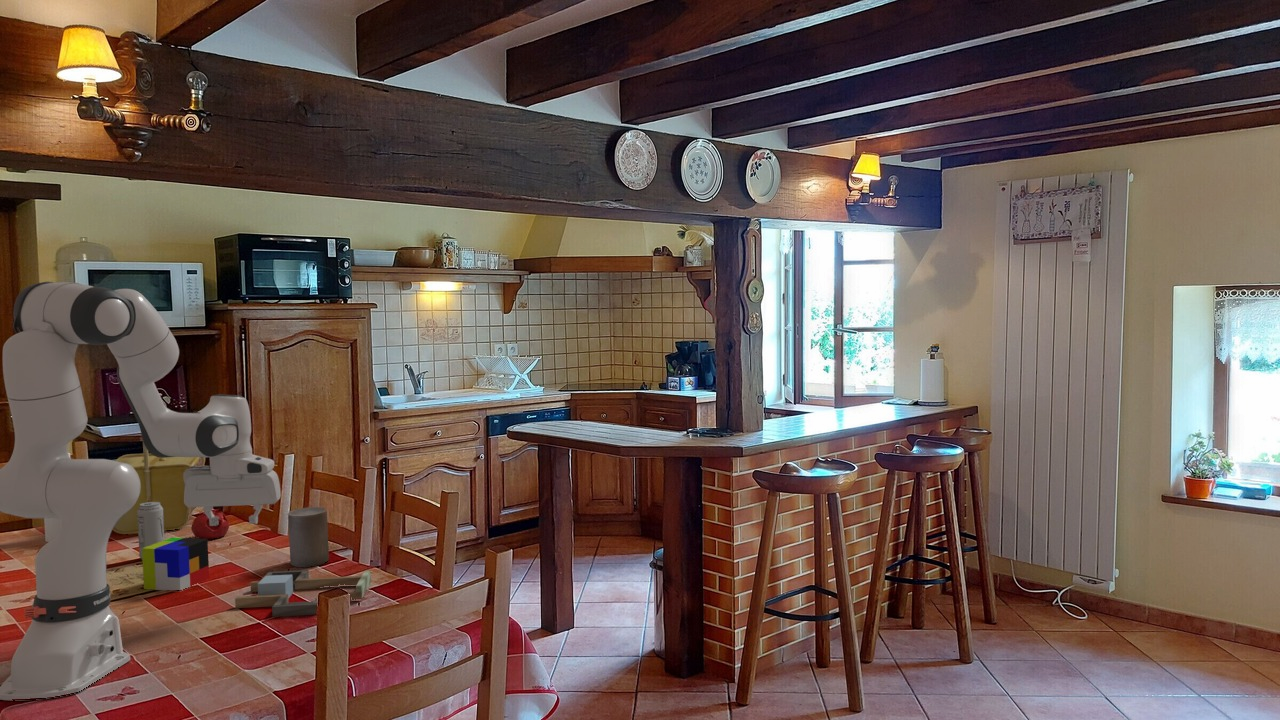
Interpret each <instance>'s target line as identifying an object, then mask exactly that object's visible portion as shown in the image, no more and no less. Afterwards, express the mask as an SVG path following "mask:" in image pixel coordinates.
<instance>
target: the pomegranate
mask: <svg viewBox="0 0 1280 720" xmlns="http://www.w3.org/2000/svg"><path fill="white" fill-rule="evenodd" d="M211 511H212V513H213V514H214V516H215V517H219V520H218V521H219V524H218V525H217V526H210V523H209V518H208V517H207V516H206V514H205V513H204V511H199V512H198V513H197V516H196V517H195V518H194V519H193V521H192V524H191V532H192V533H193V536H195V538H196V539H211V540H215V539H214V538H217V539H219V538H221V537H224V536H225V535H227V533H228V531H229V528H230V523H229V520H228V518H227V517H226V515H225V512H223V511H221V510H220V509H219V508H218V509H217V508H216V509H212V510H211ZM216 511H217V512H216ZM200 513H202V514H201V515H198V514H200Z"/></svg>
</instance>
